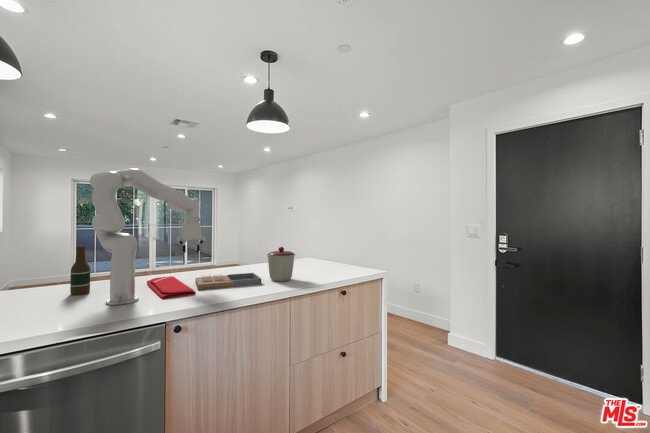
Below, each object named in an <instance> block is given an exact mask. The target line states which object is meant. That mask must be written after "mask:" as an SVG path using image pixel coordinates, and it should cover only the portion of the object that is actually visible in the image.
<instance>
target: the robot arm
mask: <svg viewBox="0 0 650 433" xmlns="http://www.w3.org/2000/svg"><path fill="white" fill-rule="evenodd" d="M89 184H90V186H91V188H93V191H92V195H91V200H92V204H93V207H94V210H95V212H96V213H95V215H94V216H93V217H92V219H91V226H92V229H93V231H94V233H95V235H96V238H97V239H98V241H99V243H100V245H101V247H102V248H103V249H104V250H105V251H107V252H108V253H112V254H111V258H110V268H109V271H110V274H109V276H110V277H109V278H110V279H109V284H110V285H109V291H110V292H109V298H107V299H106V300H105V304H106V305H109V306H112V305H113V306H116V305H118V306H119V305H127V304H131V303H136V302H137V301H138V300H139V296H137V295H135V293H136V292H135V291H136V285H135V284H136V279H135V278H136V254H137V249H138V240H137V238H135V236H134V235H132V234H130V233H126V232H121V231H122V230H124V229H125V227H126V220H125V217H124V216H123V214H122V210H121V208H120V207H119V205H118V204H119V203H118V201H117V193H118V190H119V189H124V188H126V187H127V188H128V187H134V188H135V189H136V190H138V191H140V192H142V193H143V194H146V195H147V196H149V197H150V198H154V199H155V200H160V201H165V202H168V209H170V210H171V211H174V212H184V222H182V226H181V233H180V235H179V236H177V237H176V241H177V242H178V243H179V244H181V245H182V252H183V253H185V254H186V253H187V252H186V251H187V250H186V247H187V245H186V242H189V241H191V242H192V241H193V242H194V241H196V242H197V245H196V252H197V253H199V251H201V245H202V244H203V243H204V242H206V240H207V238H206V236H204V234H202V227H201V226H202V224H201V221H202V220H203V219H202V218H201V217H200V200H199V199H198V198H192V197H190V196H188V195H187V194H185V193H183V191H180V190H179V189H176V188H173V187H171V186H169V185H167V184H164V183H162V182H161V181H159V180H157V179H155V178H154V177H153V176H151V175H149V174H147V173H146V172H145V171H143V170H141V169H139V168H135V167H134V168H133V167H132V168H125V169H121V170H120V169H119V170H109V171H100V172H96V173H94V174H92V175H91V176H90V178H89Z"/></svg>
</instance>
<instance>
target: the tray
mask: <svg viewBox="0 0 650 433" xmlns="http://www.w3.org/2000/svg"><path fill="white" fill-rule="evenodd" d="M227 276H228V277H229V278H230V280H231V281H232V288H237V287H238V288H239V287H246V286H249V287H250V286H257V285H258V286H259V285H262V277H260V276H259V275H257V274H256V273H254V272H246V273H232V274H231V273H229V274H227Z"/></svg>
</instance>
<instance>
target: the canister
mask: <svg viewBox="0 0 650 433" xmlns="http://www.w3.org/2000/svg"><path fill="white" fill-rule="evenodd" d="M277 249H278V250H274V251H269V252H268V253H267V254H266V256H267V264H268V273H269V278H270V280H271V281H273V282H277V283H279V282H281V283H282V282H289V281H290V280H291V279H292V277H293V272H294V263H295V256H296V253H294V252H293V251H289V250H285V248H284V247H283V246H279V247H278V248H277Z"/></svg>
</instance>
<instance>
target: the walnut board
mask: <svg viewBox="0 0 650 433" xmlns="http://www.w3.org/2000/svg"><path fill="white" fill-rule="evenodd" d="M227 275H228V274H227ZM227 275H223V280H213V275H211V281H201V276H199V277H195V285H196V288H197V291H204V290H214V289H225V288H226V289H228V288H233V286H232V281H231V280H230V278H229V277H228V276H227Z"/></svg>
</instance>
